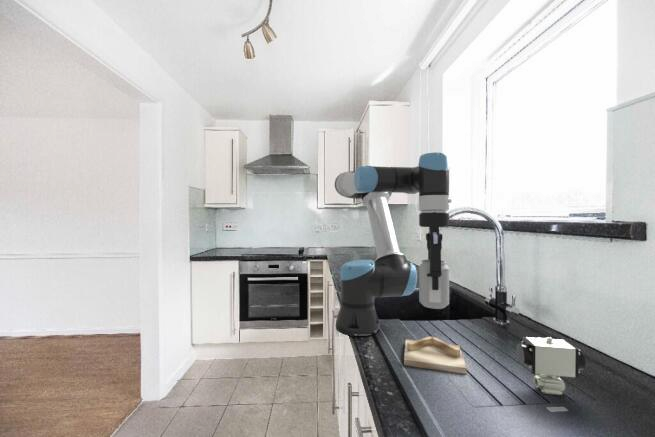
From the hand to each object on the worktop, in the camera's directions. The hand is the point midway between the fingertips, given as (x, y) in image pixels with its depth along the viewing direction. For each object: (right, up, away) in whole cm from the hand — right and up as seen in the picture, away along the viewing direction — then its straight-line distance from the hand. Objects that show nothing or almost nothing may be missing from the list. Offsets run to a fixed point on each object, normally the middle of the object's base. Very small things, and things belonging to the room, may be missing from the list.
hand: (434, 297), depth 78 cm
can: (0, -2, 0) cm, 2 cm away
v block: (+1, -17, +3) cm, 18 cm away
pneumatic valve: (+21, -18, -12) cm, 30 cm away
